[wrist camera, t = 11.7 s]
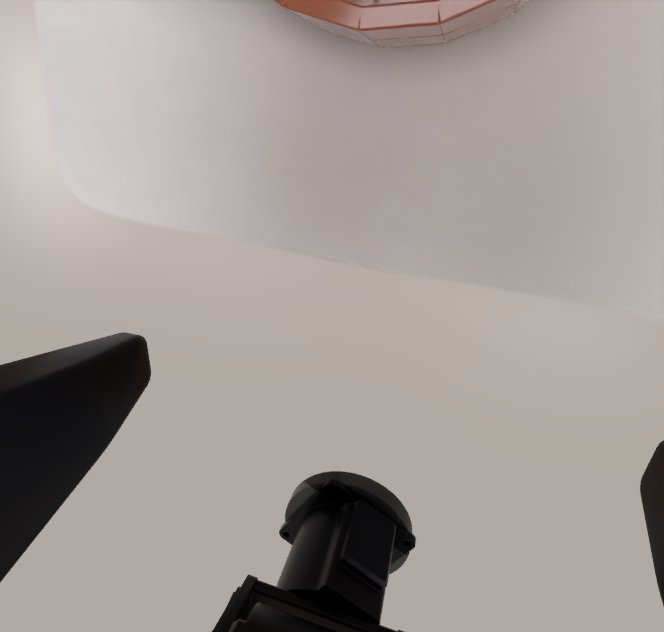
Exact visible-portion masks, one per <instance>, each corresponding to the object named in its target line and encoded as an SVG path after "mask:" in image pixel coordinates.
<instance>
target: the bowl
mask: <svg viewBox="0 0 664 632" xmlns="http://www.w3.org/2000/svg"><path fill="white" fill-rule="evenodd" d="M274 1H276V2H277V3H278V4H279V5H281V6H282V7H283V8H285V9H287V10H289V11H291V12H292V13H294V14H296V15H298V16H300V17H301V18H303V19H305V20H307V21H309V22H311V23H313V24H315V25H316V26H318V27H320V28H322V29H324V30H326V31H329V32H333V33H336V34H339V35H342V36H346V37H349V38H352V39H355V40H358V41H362V42H365V43H368V44H371V45H375V46H378V47H380V46H381V47H394V46H410V45H425V44H440V43H444V42H449V41H451V40H454V39H456V38H458V37H461V36H463V35H465V34H468V33H470V32H473V31H475V30H477V29H480V28H482V27H484V26H487V25H489V24H492V23H494V22H496V21H499V20H501V19H503V18H506V17H508V16H510V15H511V14H512V13H515V12H517V11H518V10H519V9H520V8H522V7H523V6H524V5H525V4H526V3H528V2H529V1H530V0H274Z"/></svg>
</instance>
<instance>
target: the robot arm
mask: <svg viewBox="0 0 664 632" xmlns="http://www.w3.org/2000/svg"><path fill="white" fill-rule="evenodd" d="M150 376H151V369H150V361H149V355H148V349H147V342H146V340H145V339H144V337H142V336H140V335H135V334H130V333H118V334H115V335H111V336H107V337H104V338H100V339H96V340H92V341H89V342H85V343H81V344H78V345H74V346H70V347H66V348H62V349H59V350H55V351H52V352H48V353H44V354H40V355H36V356H33V357H29V358H25V359H21V360H18V361H14V362H11V363H7V364H3V365H0V582H1V581H2V580H3V578H4V577H5V576H6V574H7V573H8V572H9V571H10V569H11V568H12V567H13V566H14V564H15V563H16V562H17V560H18V559H19V558H20V557H21V556H22V554H23V553H24V552H25V551H26V549H27V548H28V547H29V546H30V544H31V543H32V542H33V540H34V539H35V538H36V537H37V535H38V534H39V533H40V532H41V530H42V529H43V528H44V527H45V525H46V524H47V523H48V522H49V520H50V519H51V518H52V517H53V515H54V514H55V513H56V511H57V510H58V509H59V507H60V506H61V505H62V504H63V502H64V501H65V500H66V499H67V498H68V496H69V495H70V494H71V492H72V491H73V490H74V489H75V488H76V486H77V485H78V484H79V483H80V481H81V480H82V479H83V477H84V476H85V475H86V474H87V472H88V471H89V470H90V469H91V467H92V466H93V465H94V463H95V462H96V461H97V460H98V459H99V457H100V456H101V455H102V453H103V452H104V451H105V449H106V448H107V447H108V445H109V444H110V442H111V441H112V439H113V438H114V436H115V435H116V433H117V432H118V430H119V429H120V427H121V425H122V424H123V422H124V421H125V419H126V418H127V416H128V415H129V413H130V411H131V410H132V408H133V407H134V405H135V404H136V402H137V401H138V399H139V397H140V396H141V394H142V393H143V391H144V390H145V388H146V387H147V385H148V383H149V380H150ZM332 487H335V488H332ZM640 492H641V498H642V503H643V509H644V514H645V520H646V525H647V531H648V536H649V541H650V547H651V552H652V557H653V563H654V568H655V574H656V578H657V583H658V587H659V591H660V595H661V598H662V602H663V605H664V441H662V442H661V443H660V444H659V445H658V447H657V448H656V450H655V452H654V454H653V456H652V458H651V460H650V462H649V464H648V466H647V468H646V470H645V472H644V475H643V477H642V479H641V485H640ZM279 533H280V536H281V537H282V538H283V539H285V540H286V541H287V542H289V543H290V544H292V548H291V550H290V553H289V556H288V558H287V561H286V563H285V566H284V568H283V571H282V573H281V576H280V578H279V581H278V584H277V586H276V587H275V586H273V585H270V584H267V583H264V582H262V581H259V580H258V578H256V577H254V576H251V575H248V576H247V577H246V579H245V581H244V583H243V584H242V586H241V587H238V588H237V590H236V592H233V594H232V597H231V599H230V601H229V603H228V605H227V607H226V609H225V611H224V613H223V614H222V616H221V617H220V619H219V621H218V623H217V624H216V626H215V628H214V630H213V631H212V632H403V631H401V630H398V631H395V630H392V629H389V628H387V627H384V626H381V625H380V619H381V613H382V607H383V600H384V594H385V588H386V586H387V583H388V577H389V570H390V566H391V565H392V564H393V563H395V562H396V561H397V560H399V559H400V558H401V557H403V556H404V555H405V554H407V553H408V552H409V551H411V550H412V549H413V548H414V547H415V542H416V537H415V536H414V535H413V534H412V533H411V532H409V531H408V530H407V529H405V528H404V527H402V526H401V525H400V524H398V523H397V522H396V521H394V520H393V519H391V518H390V517H389V516H387V515H386V514H384V513H383V512H382V511H380V510H379V509H378V508H376V507H375V506H373V505H372V504H371V503H369V502H368V501H367V500H365V499H364V498H362V497H361V496H360V495H358V494H357V493H356V492H354V491H353V490H351V489H350V488H349V487H347V486H346V485H345V484H343V483H342V482H340V481H339V480H337V479H329V480H328V481H327V482H326V483H325V484H324V485H323V486H322V487H321V488H320V489H319V490H318V491H317V492H316V493H314V494H313V495H312V496H311V497H310V498H309V499H308V500H307V501H306V502H305V503H304V504H303V505H302V506H301V507H300V508H299V509H298V510H297V511H296V512H295V513H294V514H293V515H292V516H291V517H290V518H289V519H288V520H287V521H286V522H285V523H284V524H283V525H282V527H281V529H280V531H279ZM406 540H407V541H406Z"/></svg>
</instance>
